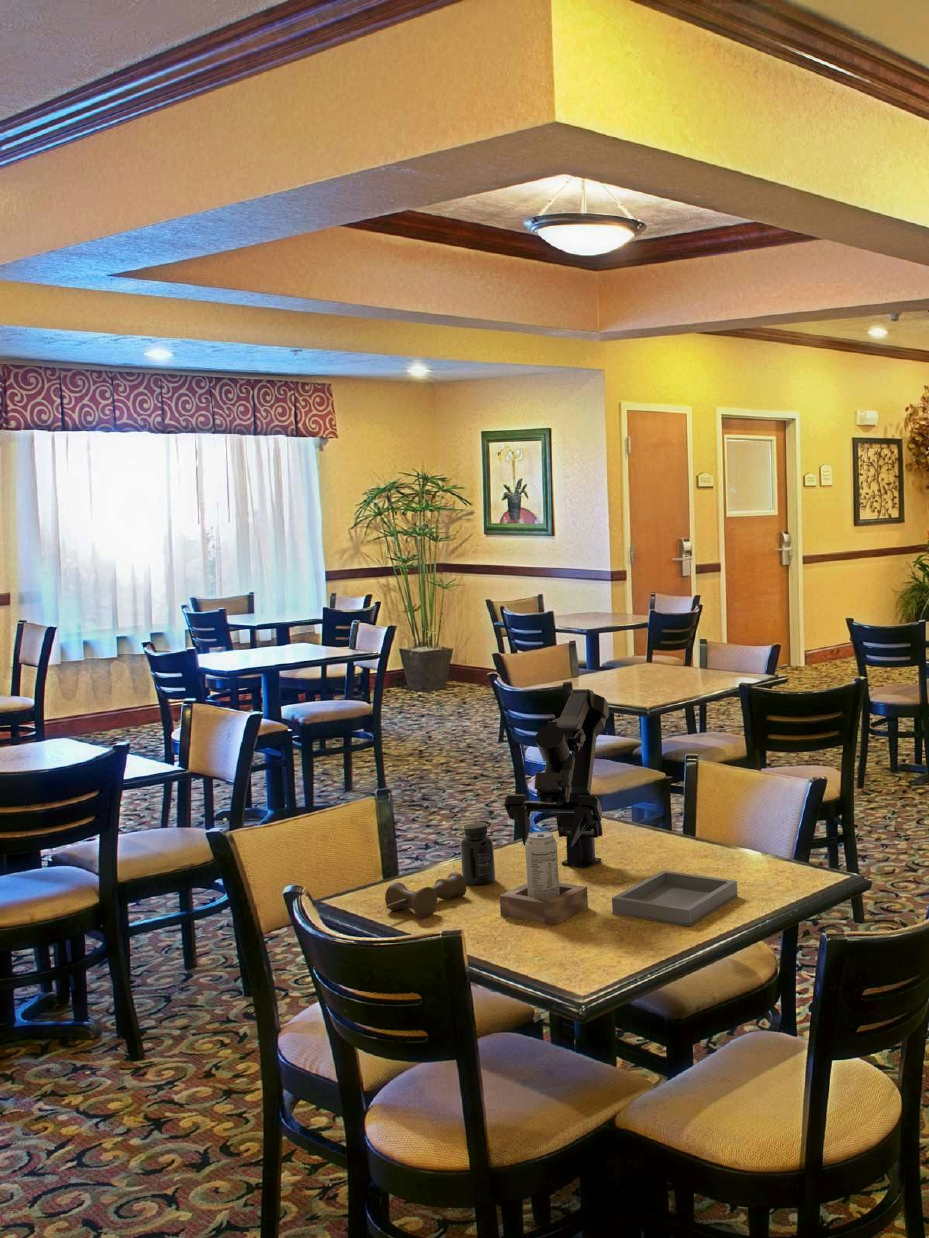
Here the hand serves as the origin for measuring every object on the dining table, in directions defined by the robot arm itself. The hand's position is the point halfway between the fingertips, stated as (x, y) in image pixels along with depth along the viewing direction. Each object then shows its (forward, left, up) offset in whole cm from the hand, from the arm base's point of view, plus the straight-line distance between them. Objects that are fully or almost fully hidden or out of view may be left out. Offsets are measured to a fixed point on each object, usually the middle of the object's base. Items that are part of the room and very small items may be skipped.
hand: (547, 845), depth 240 cm
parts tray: (-11, +22, -12) cm, 27 cm away
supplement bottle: (-6, -21, -12) cm, 25 cm away
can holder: (+4, +2, -12) cm, 13 cm away
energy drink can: (+4, +2, -12) cm, 13 cm away
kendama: (+13, -21, -12) cm, 27 cm away
